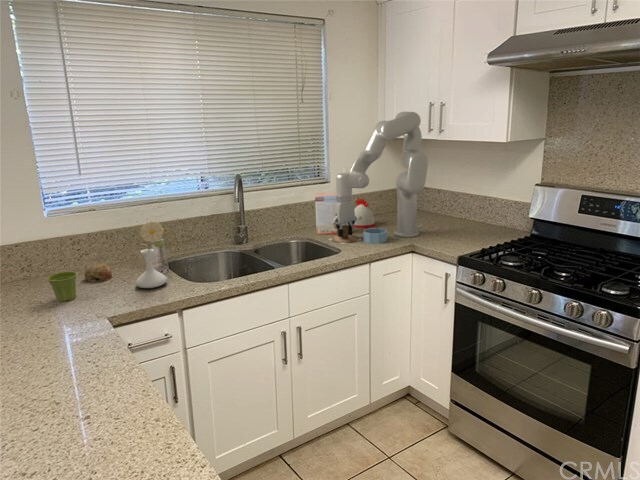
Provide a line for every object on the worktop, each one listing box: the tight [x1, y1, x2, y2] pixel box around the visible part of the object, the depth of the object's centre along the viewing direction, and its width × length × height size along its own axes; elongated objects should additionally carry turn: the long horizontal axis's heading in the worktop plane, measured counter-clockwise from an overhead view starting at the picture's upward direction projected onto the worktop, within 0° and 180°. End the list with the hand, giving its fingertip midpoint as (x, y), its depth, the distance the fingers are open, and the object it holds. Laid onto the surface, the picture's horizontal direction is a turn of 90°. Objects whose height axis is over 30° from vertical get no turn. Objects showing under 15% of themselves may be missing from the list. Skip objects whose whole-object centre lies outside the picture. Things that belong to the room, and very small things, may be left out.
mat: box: [328, 237, 363, 245], centre depth 235 cm, size 12×12×1 cm
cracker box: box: [314, 192, 345, 236], centre depth 245 cm, size 14×6×21 cm, turn 84°
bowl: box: [363, 227, 388, 244], centre depth 231 cm, size 11×11×5 cm
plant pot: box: [46, 271, 78, 302], centre depth 170 cm, size 9×9×9 cm
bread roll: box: [84, 262, 113, 283], centre depth 191 cm, size 10×10×8 cm
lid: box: [331, 224, 359, 244], centre depth 234 cm, size 13×13×7 cm
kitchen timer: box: [352, 197, 376, 229], centre depth 261 cm, size 14×14×15 cm
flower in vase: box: [135, 220, 168, 289], centre depth 178 cm, size 13×11×25 cm
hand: (344, 235), depth 234 cm, fingers open, 5 cm apart
